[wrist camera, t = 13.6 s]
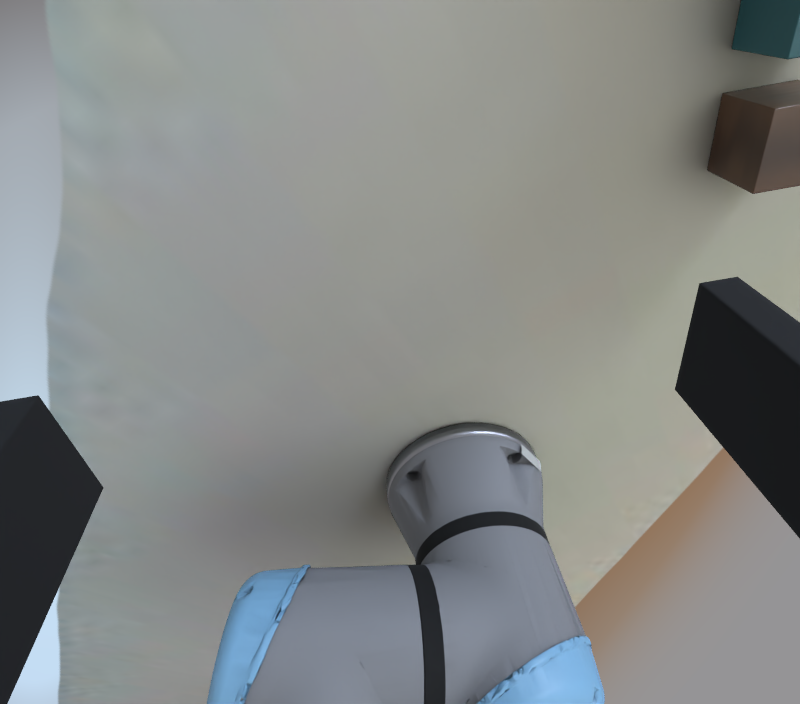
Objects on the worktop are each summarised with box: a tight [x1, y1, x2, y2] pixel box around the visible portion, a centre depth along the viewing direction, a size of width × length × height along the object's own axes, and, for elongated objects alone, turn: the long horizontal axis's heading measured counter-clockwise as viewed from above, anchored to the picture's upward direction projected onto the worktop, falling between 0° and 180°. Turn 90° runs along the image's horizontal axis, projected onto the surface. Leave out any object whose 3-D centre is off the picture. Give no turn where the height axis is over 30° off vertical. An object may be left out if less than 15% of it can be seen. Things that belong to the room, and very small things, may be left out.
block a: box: [707, 80, 800, 194], centre depth 34 cm, size 5×5×5 cm
